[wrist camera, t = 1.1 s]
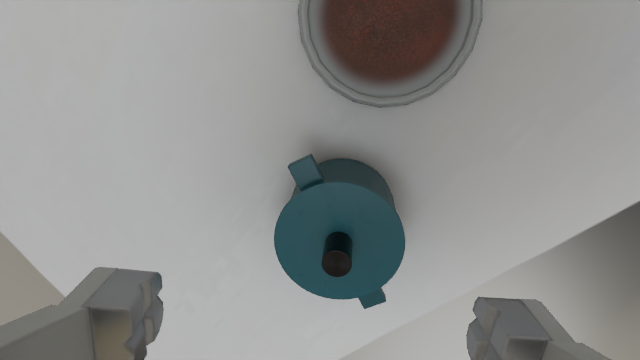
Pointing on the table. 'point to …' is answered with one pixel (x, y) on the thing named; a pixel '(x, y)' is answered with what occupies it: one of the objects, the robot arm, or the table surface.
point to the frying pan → (388, 45)
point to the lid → (339, 239)
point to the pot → (346, 170)
